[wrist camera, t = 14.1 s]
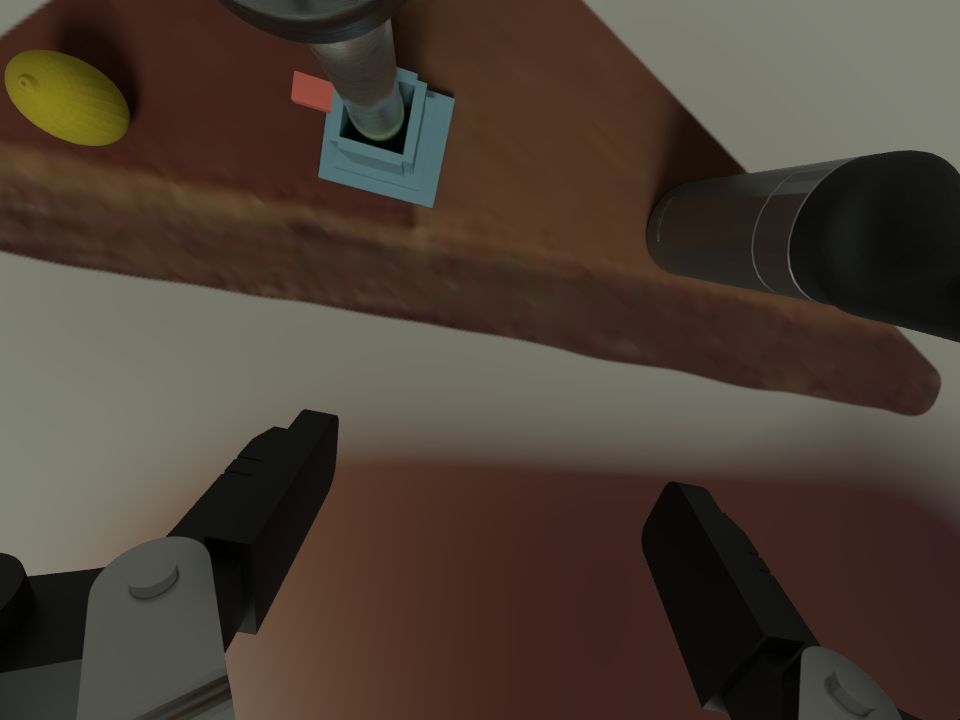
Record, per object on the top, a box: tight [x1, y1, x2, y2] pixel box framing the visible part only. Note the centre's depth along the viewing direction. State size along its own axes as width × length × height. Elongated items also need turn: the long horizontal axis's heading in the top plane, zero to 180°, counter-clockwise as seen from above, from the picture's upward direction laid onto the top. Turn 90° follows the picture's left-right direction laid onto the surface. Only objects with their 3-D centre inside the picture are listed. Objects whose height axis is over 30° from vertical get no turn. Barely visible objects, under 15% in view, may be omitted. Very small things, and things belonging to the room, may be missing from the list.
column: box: [217, 0, 407, 148], centre depth 18 cm, size 6×6×24 cm
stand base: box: [291, 67, 455, 208], centre depth 31 cm, size 10×9×10 cm
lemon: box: [5, 50, 130, 146], centre depth 29 cm, size 6×6×8 cm
